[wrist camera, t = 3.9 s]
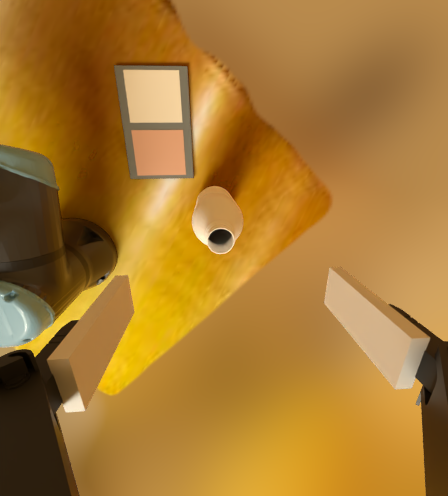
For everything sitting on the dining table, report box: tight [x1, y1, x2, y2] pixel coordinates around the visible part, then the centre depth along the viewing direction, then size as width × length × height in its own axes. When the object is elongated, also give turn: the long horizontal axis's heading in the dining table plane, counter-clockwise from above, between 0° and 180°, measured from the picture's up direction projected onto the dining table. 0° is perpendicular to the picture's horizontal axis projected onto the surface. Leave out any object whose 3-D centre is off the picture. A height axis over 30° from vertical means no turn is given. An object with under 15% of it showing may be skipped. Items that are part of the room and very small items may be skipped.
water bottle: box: [192, 186, 243, 254], centre depth 36 cm, size 7×7×25 cm
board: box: [114, 65, 194, 179], centre depth 42 cm, size 12×18×1 cm, turn 1°
